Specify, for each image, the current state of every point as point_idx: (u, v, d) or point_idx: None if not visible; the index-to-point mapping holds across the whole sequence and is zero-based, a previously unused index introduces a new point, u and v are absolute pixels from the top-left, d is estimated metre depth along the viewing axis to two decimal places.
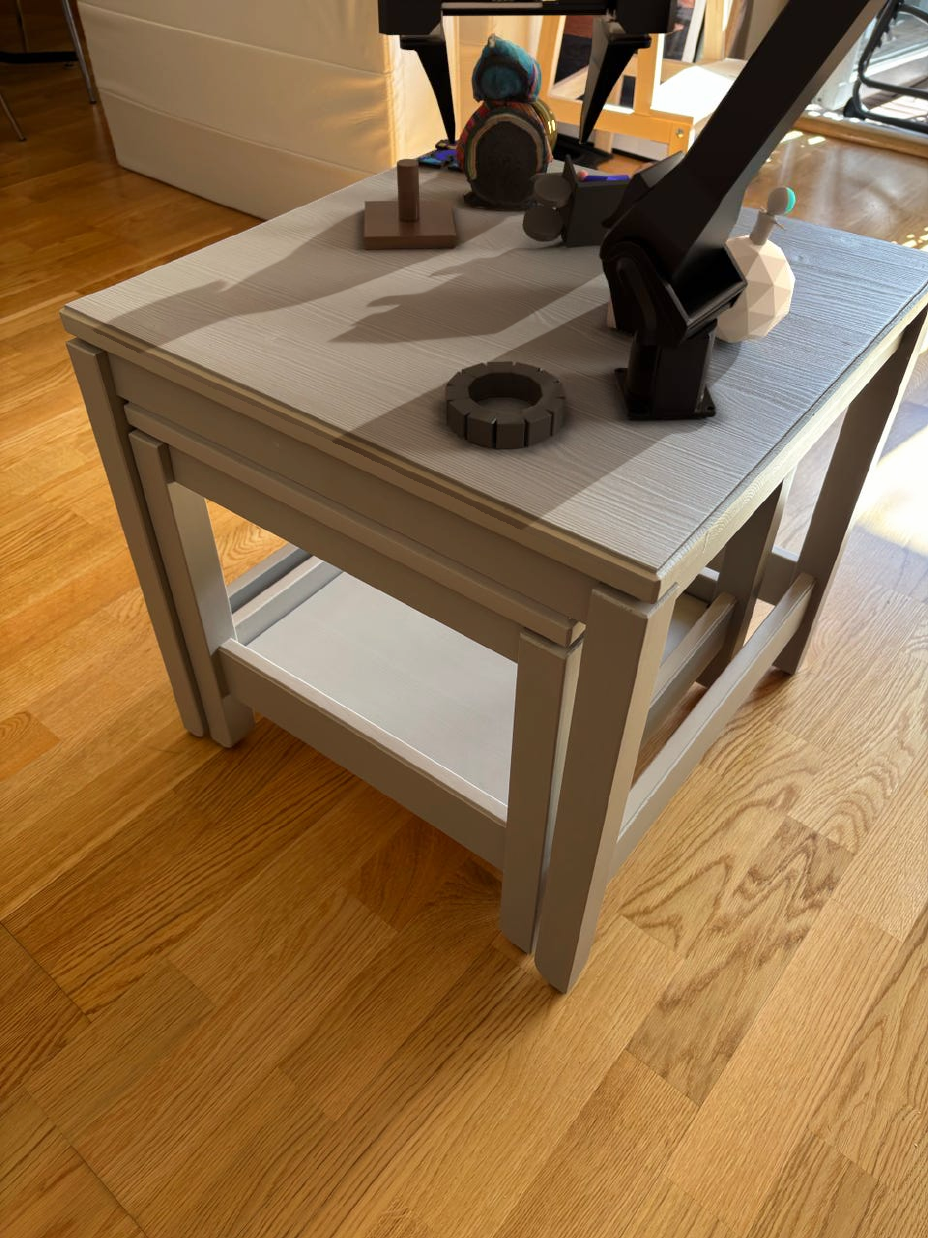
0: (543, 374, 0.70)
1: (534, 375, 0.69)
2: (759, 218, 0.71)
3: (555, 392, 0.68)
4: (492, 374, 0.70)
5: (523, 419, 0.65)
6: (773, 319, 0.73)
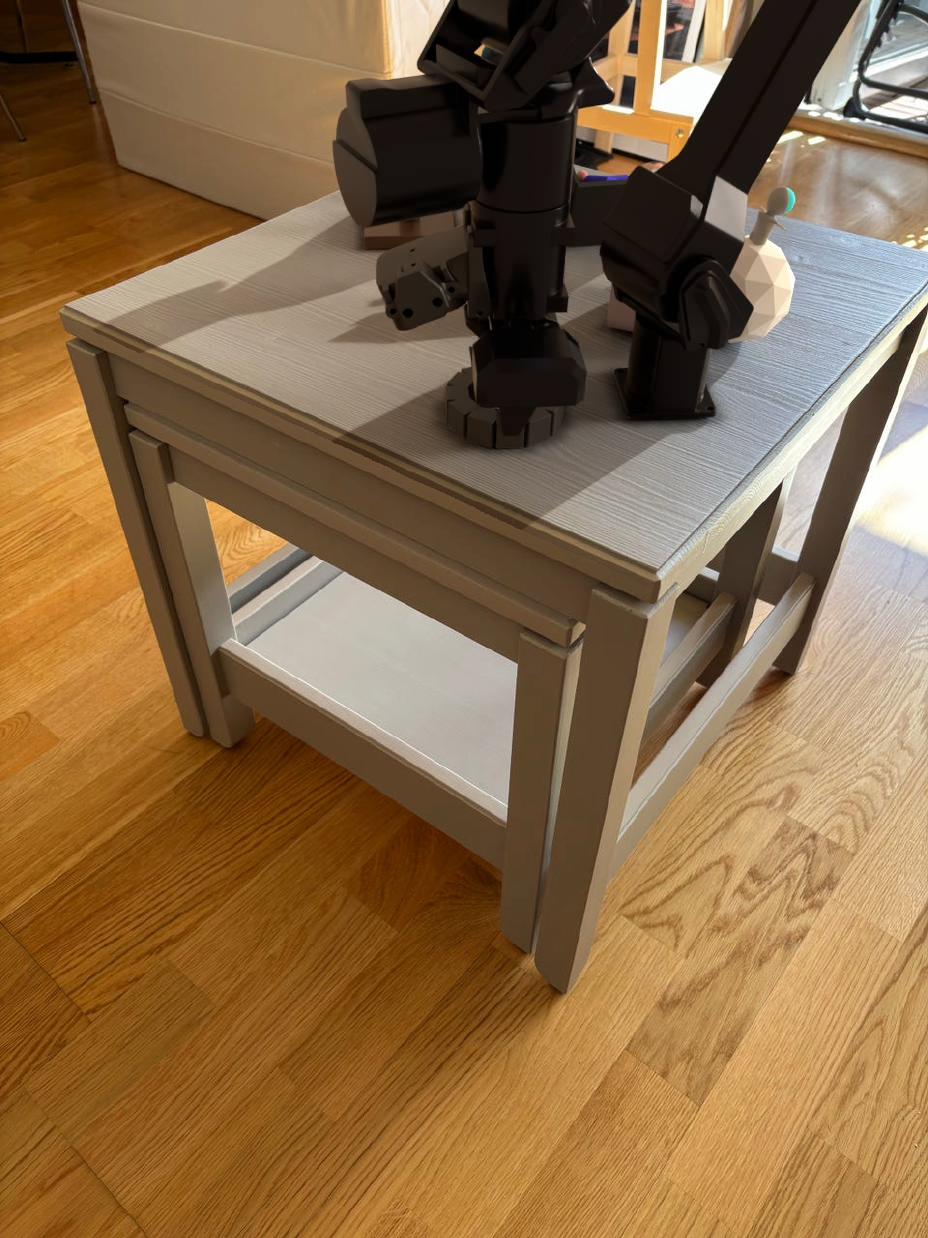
0: None
1: None
2: (759, 218, 0.71)
3: None
4: None
5: None
6: (773, 319, 0.73)
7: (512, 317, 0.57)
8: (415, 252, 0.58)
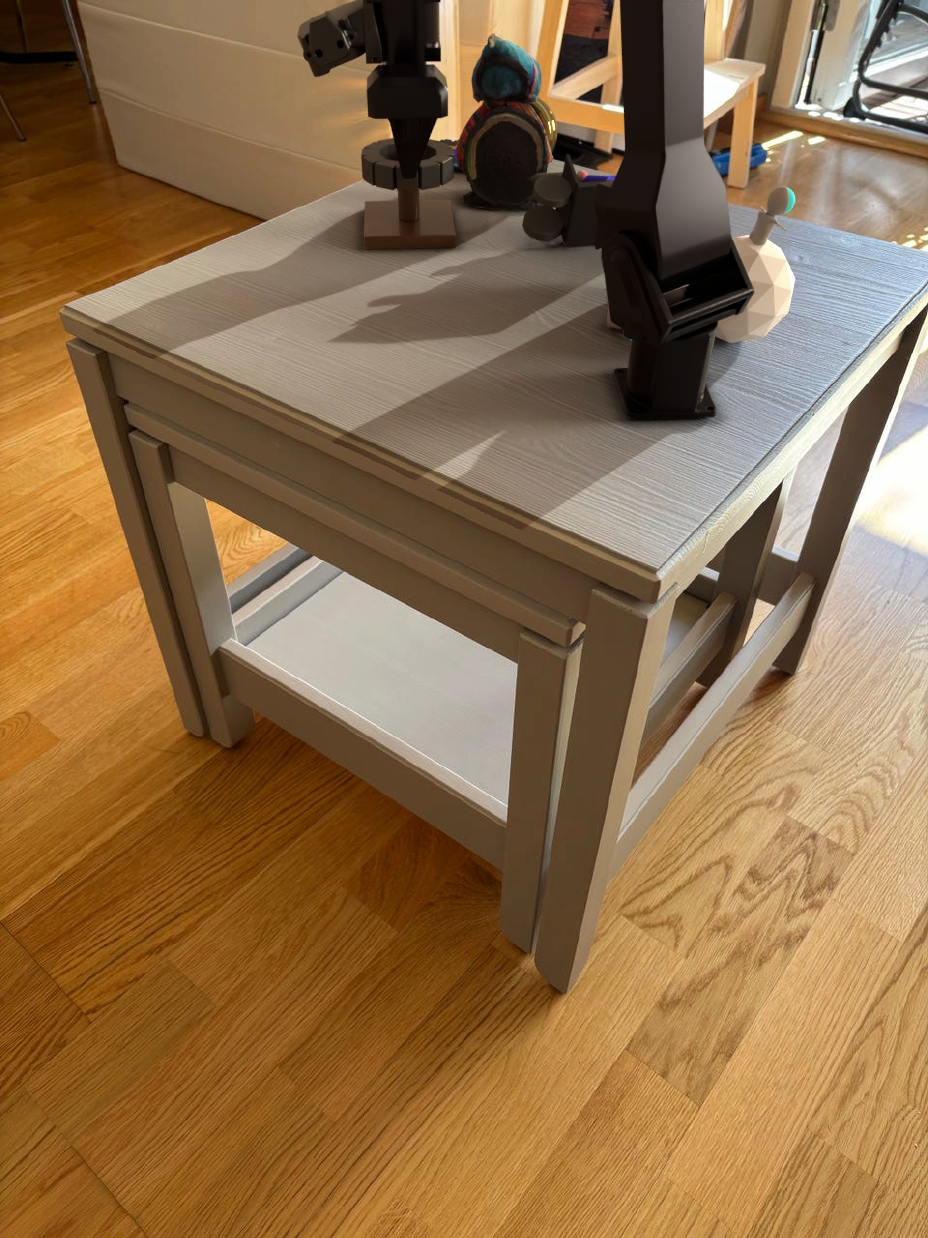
0: (440, 144, 0.89)
1: (433, 144, 0.89)
2: (759, 218, 0.71)
3: (446, 152, 0.87)
4: None
5: None
6: (773, 319, 0.73)
7: (399, 63, 0.77)
8: None
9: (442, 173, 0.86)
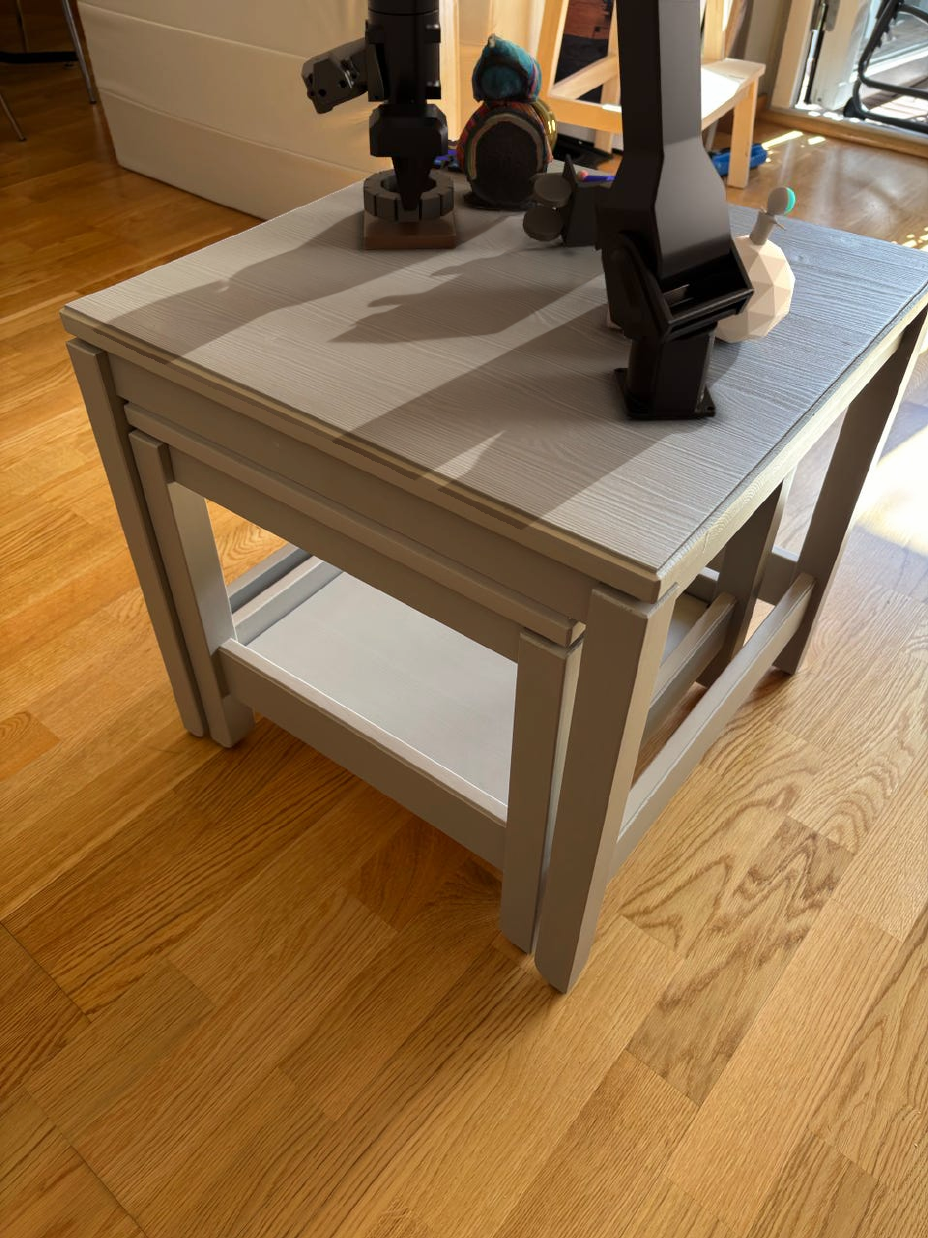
0: (440, 175, 0.91)
1: (433, 175, 0.91)
2: (759, 218, 0.71)
3: (446, 184, 0.89)
4: None
5: None
6: (773, 319, 0.73)
7: (400, 101, 0.79)
8: None
9: (442, 205, 0.88)
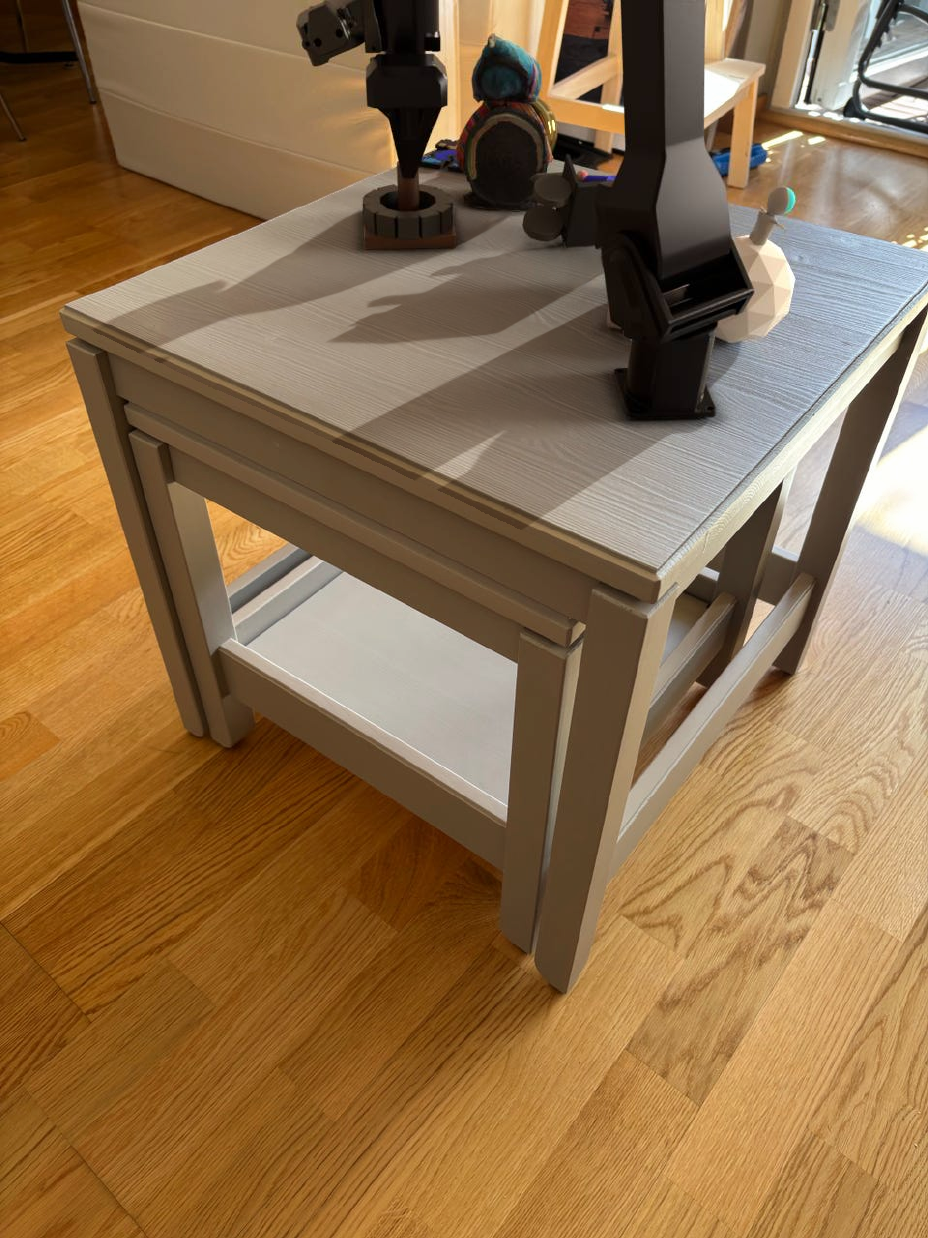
0: (438, 190, 0.91)
1: (432, 191, 0.91)
2: (759, 218, 0.71)
3: (445, 200, 0.90)
4: None
5: (418, 215, 0.87)
6: (773, 319, 0.73)
7: (398, 53, 0.76)
8: None
9: (442, 222, 0.88)
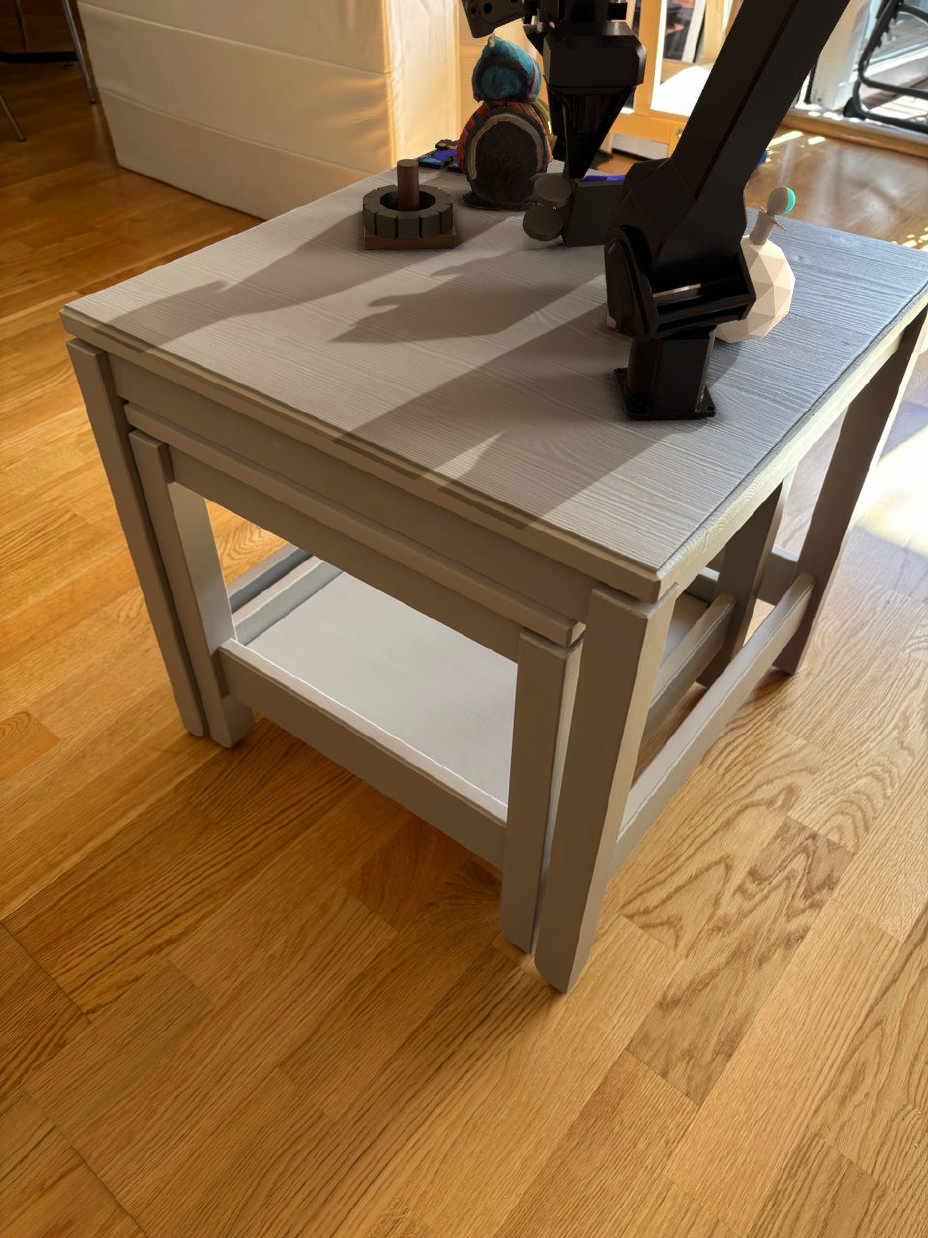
0: (438, 190, 0.91)
1: (432, 191, 0.91)
2: (759, 218, 0.71)
3: (445, 200, 0.90)
4: None
5: (418, 215, 0.87)
6: (773, 319, 0.73)
7: (578, 21, 0.65)
8: None
9: (442, 222, 0.88)
